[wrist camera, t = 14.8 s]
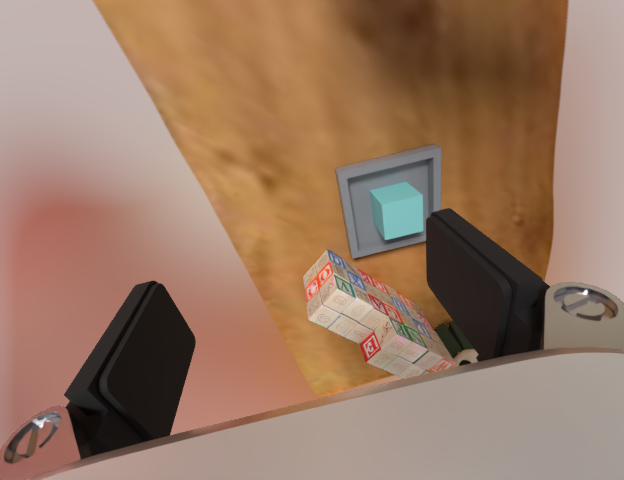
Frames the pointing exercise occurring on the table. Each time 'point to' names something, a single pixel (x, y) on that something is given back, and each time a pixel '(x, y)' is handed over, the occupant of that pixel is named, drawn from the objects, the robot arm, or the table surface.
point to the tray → (380, 173)
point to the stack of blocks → (373, 318)
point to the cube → (397, 210)
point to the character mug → (457, 345)
